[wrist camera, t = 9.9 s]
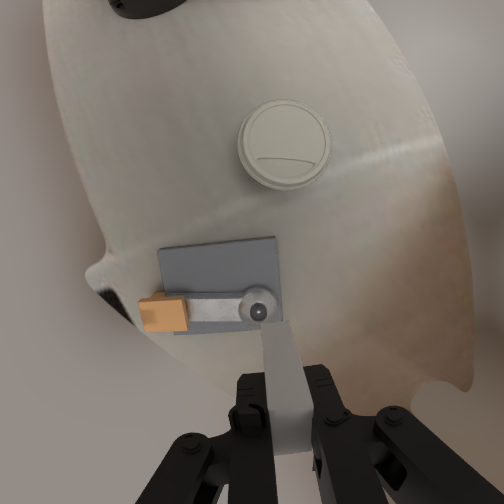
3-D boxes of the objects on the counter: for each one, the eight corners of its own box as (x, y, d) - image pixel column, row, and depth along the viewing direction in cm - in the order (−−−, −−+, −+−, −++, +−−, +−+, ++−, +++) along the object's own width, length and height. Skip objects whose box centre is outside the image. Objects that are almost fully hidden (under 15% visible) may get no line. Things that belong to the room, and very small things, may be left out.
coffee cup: (226, 164, 34) (215, 152, 22) (266, 111, 33) (274, 76, 21) (282, 204, 35) (299, 210, 24) (321, 151, 34) (354, 134, 22)
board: (160, 248, 36) (157, 250, 35) (274, 236, 36) (275, 238, 35) (176, 330, 39) (174, 335, 37) (281, 321, 39) (282, 326, 37)
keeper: (153, 285, 37) (137, 302, 31) (191, 282, 37) (181, 299, 31) (159, 312, 38) (145, 332, 32) (196, 309, 38) (187, 330, 32)
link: (276, 284, 36) (279, 294, 32) (276, 319, 37) (278, 331, 33) (168, 286, 36) (160, 295, 32) (172, 319, 37) (165, 331, 33)
